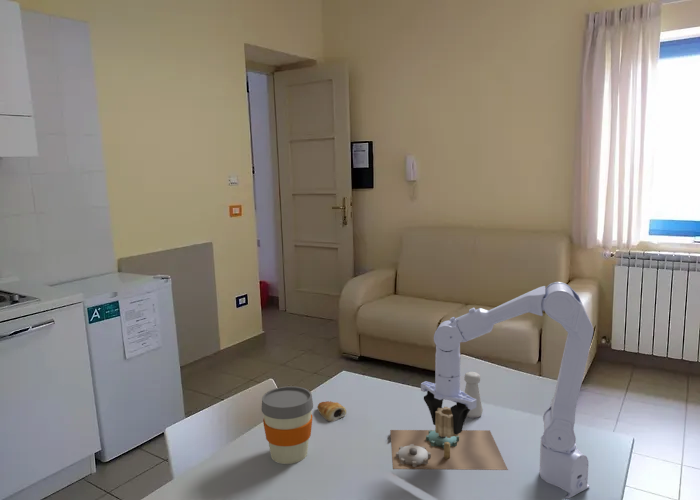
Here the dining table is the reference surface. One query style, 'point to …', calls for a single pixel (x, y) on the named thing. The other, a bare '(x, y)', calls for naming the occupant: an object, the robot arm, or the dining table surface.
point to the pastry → (331, 410)
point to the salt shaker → (473, 393)
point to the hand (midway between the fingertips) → (447, 428)
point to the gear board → (445, 450)
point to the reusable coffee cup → (287, 422)
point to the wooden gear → (444, 422)
